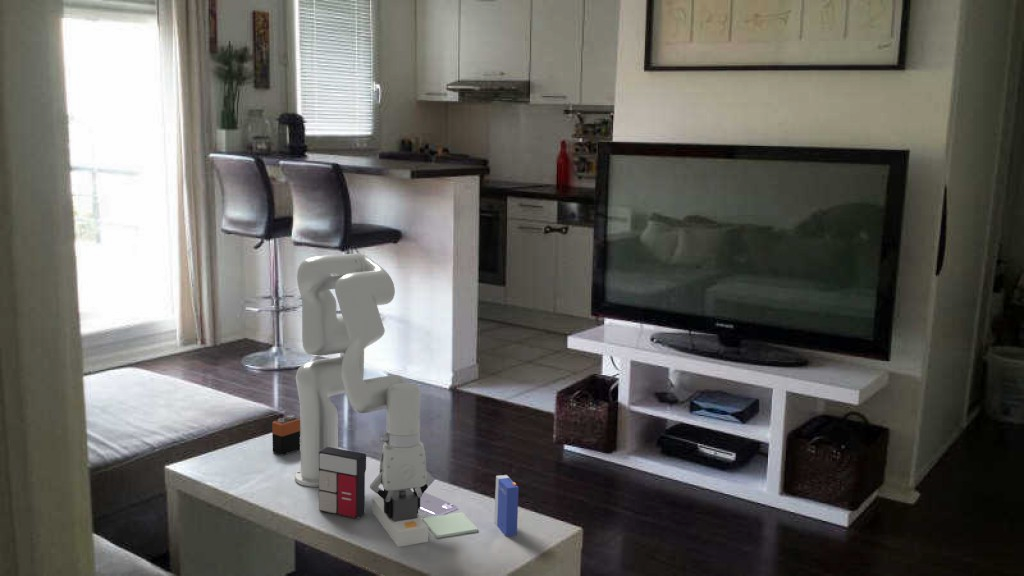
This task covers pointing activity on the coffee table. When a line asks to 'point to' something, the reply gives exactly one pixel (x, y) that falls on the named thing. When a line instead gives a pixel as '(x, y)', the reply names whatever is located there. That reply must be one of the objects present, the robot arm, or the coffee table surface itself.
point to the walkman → (506, 505)
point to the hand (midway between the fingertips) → (402, 513)
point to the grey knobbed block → (404, 505)
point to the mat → (449, 525)
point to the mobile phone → (435, 505)
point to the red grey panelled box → (342, 482)
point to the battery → (286, 435)
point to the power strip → (400, 526)
